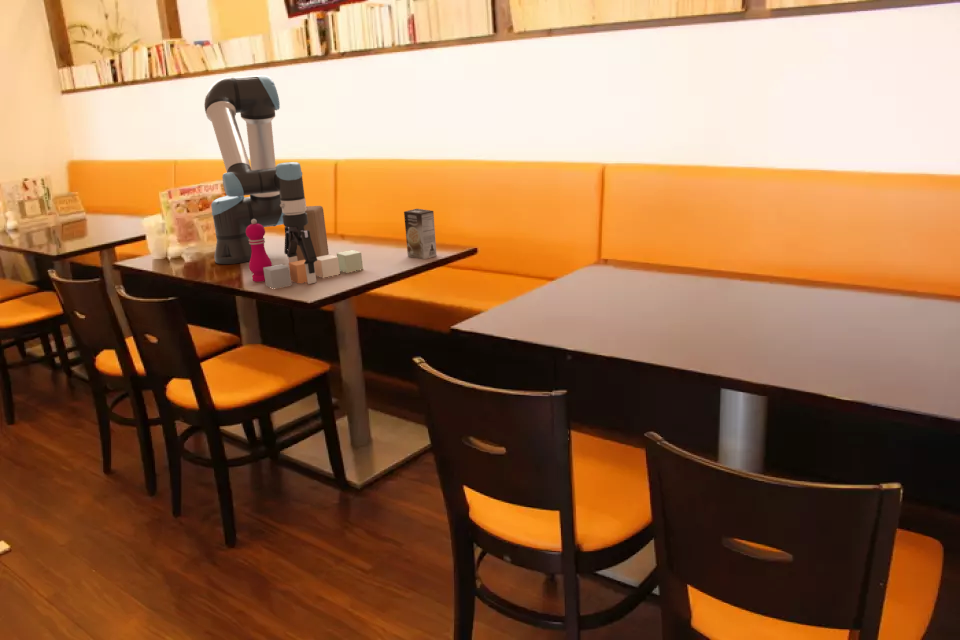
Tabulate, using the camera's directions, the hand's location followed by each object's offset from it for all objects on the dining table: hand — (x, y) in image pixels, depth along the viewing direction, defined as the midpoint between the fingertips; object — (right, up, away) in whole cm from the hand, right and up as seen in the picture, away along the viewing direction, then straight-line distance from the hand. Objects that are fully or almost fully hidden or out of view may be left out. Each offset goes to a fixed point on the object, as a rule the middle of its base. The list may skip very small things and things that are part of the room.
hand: (303, 279), depth 247 cm
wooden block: (-1, +6, +19) cm, 20 cm away
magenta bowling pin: (-14, 0, +4) cm, 15 cm away
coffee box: (+36, +9, +23) cm, 44 cm away
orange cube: (0, 0, 0) cm, 0 cm away
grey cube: (-7, -2, -5) cm, 9 cm away
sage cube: (+14, +4, +10) cm, 17 cm away
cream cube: (+7, +2, +5) cm, 9 cm away
